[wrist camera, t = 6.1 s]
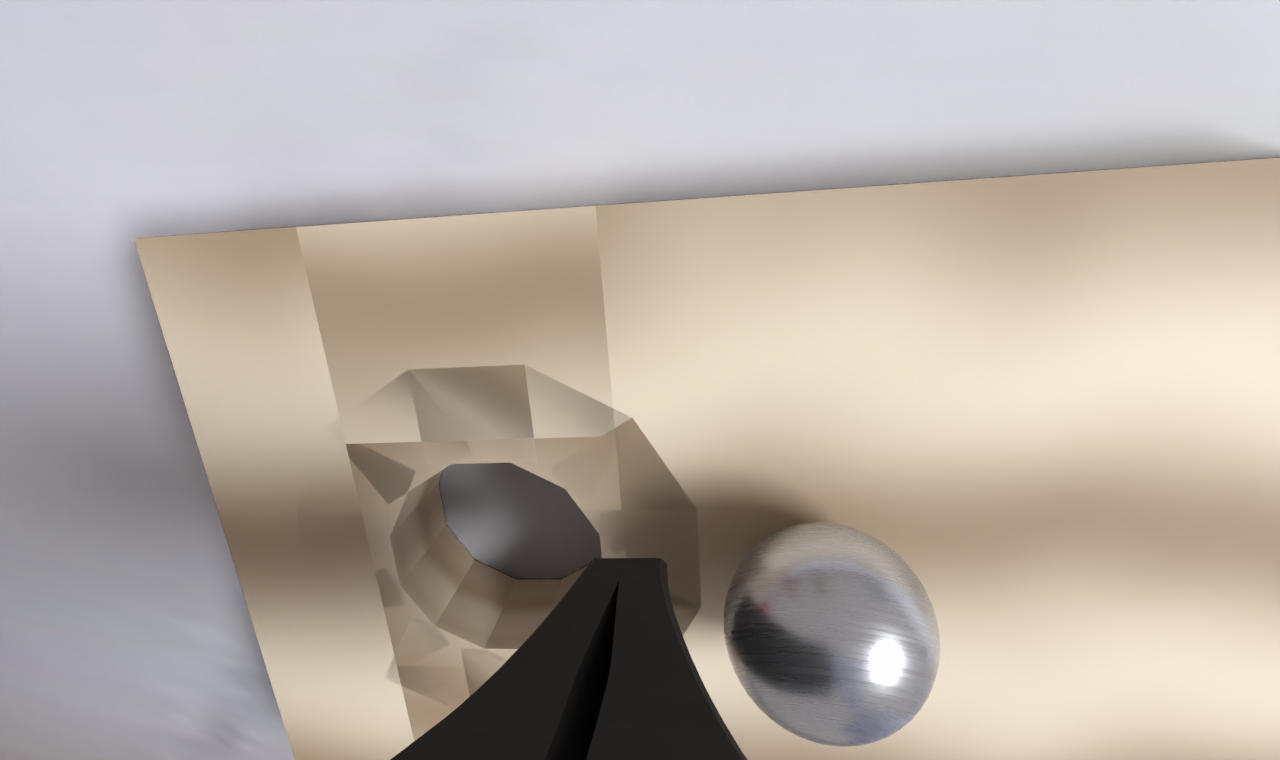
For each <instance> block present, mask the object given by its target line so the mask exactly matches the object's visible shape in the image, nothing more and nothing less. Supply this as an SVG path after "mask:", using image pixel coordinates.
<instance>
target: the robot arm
mask: <svg viewBox="0 0 1280 760" xmlns="http://www.w3.org/2000/svg"><path fill="white" fill-rule="evenodd" d="M390 760H747V758H746V757H745V755H744V754H743V752H742V751H741V749H740V748H739V746H738V744H737V743H736V741H735V739H734V738H733V736H732V734H731V733H730V731H729V729H728V728H727V726H726V724H725V723H724V721H723V719H722V717H721V716H720V714H719V712H718V710H717V708H716V707H715V705H714V703H713V701H712V699H711V697H710V696H709V694H708V692H707V690H706V688H705V686H704V684H703V682H702V680H701V677H700V675H699V673H698V671H697V669H696V667H695V664H694V662H693V660H692V658H691V655H690V653H689V651H688V648H687V646H686V643H685V641H684V638H683V635H682V632H681V630H680V627H679V624H678V621H677V618H676V616H675V612H674V609H673V606H672V602H671V598H670V594H669V588H668V572H667V563H666V562H665V561H663V560H662V559H661V558H594V559H593V560H592V561H591V562H590V563H589V564H588V566H587V567H586V568H585V570H584V571H583V572H582V574H581V575H580V576H579V578H578V579H577V580H576V581H575V583H574V584H573V585H572V587H571V588H570V589H569V590H568V592H567V593H566V594H565V595H564V597H563V598H562V599H561V600H560V602H559V603H558V604H557V605H556V607H555V608H554V609H553V610H552V611H551V612H550V614H549V615H548V616H547V617H546V618H545V619H544V621H543V622H542V623H541V624H540V625H539V627H538V628H537V629H536V630H535V631H534V632H533V633H532V635H531V636H530V637H529V638H528V639H527V640H526V641H525V642H524V643H523V644H522V645H521V646H520V647H519V648H518V650H517V651H516V652H515V653H514V654H513V655H512V656H511V657H510V658H509V659H508V660H507V661H506V662H505V663H504V664H503V665H502V666H501V667H500V668H499V669H498V670H497V671H496V672H495V673H494V674H493V675H492V676H491V677H490V678H489V679H488V680H487V681H486V682H485V683H484V684H483V685H482V686H481V687H480V688H479V689H478V690H476V691H475V692H474V693H473V694H472V695H471V696H470V697H469V698H468V699H466V700H465V701H464V702H463V703H462V704H461V705H460V706H459V707H457V708H456V709H455V710H454V711H453V712H451V713H450V714H449V715H448V716H447V717H445V718H444V719H443V720H442V721H440V722H439V723H438V724H436V725H435V726H434V727H432V728H431V729H430V730H428V731H427V732H426V733H425V734H423V735H422V736H421V737H419V738H418V739H417V740H415V741H414V742H413V743H411V744H410V745H409V746H408V747H406V748H405V749H404V750H402V751H401V752H400V753H398V754H397V755H396V756H394V757H393V758H392V759H390Z"/></svg>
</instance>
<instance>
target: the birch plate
mask: <svg viewBox="0 0 1280 760" xmlns="http://www.w3.org/2000/svg"><path fill="white" fill-rule="evenodd" d="M134 242H135V245H136V248H137V251H138V254H139V258H140V261H141V264H142V267H143V271H144V274H145V277H146V280H147V284H148V287H149V290H150V293H151V297H152V300H153V303H154V306H155V309H156V313H157V316H158V319H159V322H160V326H161V329H162V332H163V335H164V339H165V342H166V345H167V348H168V351H169V355H170V358H171V361H172V364H173V368H174V371H175V374H176V377H177V381H178V384H179V387H180V390H181V394H182V397H183V400H184V403H185V406H186V410H187V413H188V416H189V419H190V423H191V426H192V429H193V432H194V436H195V439H196V442H197V445H198V448H199V452H200V455H201V458H202V461H203V465H204V468H205V471H206V474H207V478H208V481H209V484H210V487H211V491H212V494H213V497H214V500H215V503H216V507H217V510H218V513H219V516H220V520H221V523H222V526H223V529H224V533H225V536H226V539H227V542H228V545H229V549H230V552H231V555H232V558H233V562H234V565H235V568H236V571H237V575H238V578H239V581H240V584H241V587H242V591H243V594H244V597H245V600H246V604H247V607H248V610H249V613H250V617H251V620H252V623H253V626H254V630H255V633H256V636H257V639H258V642H259V646H260V649H261V652H262V655H263V659H264V662H265V665H266V668H267V672H268V675H269V678H270V681H271V684H272V688H273V691H274V694H275V697H276V701H277V704H278V707H279V710H280V714H281V717H282V720H283V723H284V727H285V730H286V733H287V736H288V739H289V743H290V746H291V749H292V752H293V756H294V759H295V760H390V759H392V758H393V757H394V756H396V755H397V754H398V753H400V752H401V751H402V750H404V749H405V748H406V747H408V746H409V745H410V744H411V743H413V742H414V741H415V740H417V739H418V738H419V737H421V736H422V735H423V734H425V733H426V732H427V731H428V730H430V729H431V728H432V727H434V726H435V725H436V724H438V723H439V722H440V721H442V720H443V719H444V718H445V717H447V716H448V715H449V714H450V713H451V712H453V711H454V710H455V709H456V708H457V707H459V706H460V705H461V704H462V703H463V702H464V701H465V700H466V699H468V698H469V697H470V696H471V695H472V694H473V693H474V692H475V691H476V690H478V689H479V688H480V687H481V686H482V685H483V684H484V683H485V682H486V681H487V680H488V679H489V678H490V677H491V676H492V675H493V674H494V673H495V672H496V671H497V670H498V669H499V668H500V667H501V666H502V665H503V664H504V663H505V662H506V661H507V660H508V659H509V658H510V657H511V656H512V655H513V654H514V653H515V652H516V651H517V650H518V648H519V647H520V646H521V645H522V644H523V643H524V642H525V641H526V640H527V639H528V638H529V637H530V636H531V635H532V633H533V632H534V631H535V630H536V629H537V628H538V627H539V625H540V624H541V623H542V622H543V621H544V619H545V618H546V617H547V616H548V615H549V614H550V612H551V611H552V610H553V609H554V608H555V607H556V605H557V604H558V603H559V602H560V600H561V599H562V598H563V597H564V595H565V594H566V593H567V592H568V590H569V589H570V588H571V587H572V585H573V584H574V583H575V581H576V580H577V579H578V578H579V576H580V575H581V574H582V572H583V571H584V570H585V568H586V567H587V566H588V565H587V566H585V567H583V568H581V569H580V570H578V571H576V572H574V573H572V574H570V575H569V576H567V577H565V578H563V579H515V578H513V577H510V576H508V575H506V574H504V573H502V572H500V571H498V570H495V569H493V568H491V567H489V566H487V565H485V564H483V563H481V562H478V561H476V560H475V559H474V558H473V557H472V556H471V554H470V553H469V552H468V551H467V550H466V548H465V547H464V546H463V545H462V543H461V542H460V541H459V540H458V539H457V537H456V536H455V535H454V534H453V532H452V531H451V530H450V529H449V528H448V526H447V525H446V521H445V515H444V510H443V504H442V499H441V494H440V488H439V483H438V482H439V480H440V478H441V475H442V473H443V471H444V469H445V468H446V467H448V466H450V465H451V464H475V463H512V464H514V465H516V466H518V467H520V468H522V469H525V470H527V471H529V472H531V473H533V474H535V475H537V476H539V477H541V478H543V479H545V480H547V481H549V482H552V483H554V484H556V485H558V486H560V487H562V488H564V489H565V490H566V491H567V492H568V494H569V495H570V496H571V498H572V499H573V500H574V501H575V503H576V504H577V505H578V507H579V508H580V509H581V511H582V512H583V513H584V515H585V516H586V517H587V519H588V520H589V521H590V523H591V524H592V525H593V527H594V528H595V529H596V531H597V532H598V533H599V535H600V545H601V556H600V558H661V559H662V560H663V561H665V562H666V563H667V572H668V588H669V594H670V598H671V602H672V606H673V609H674V612H675V616H676V618H677V621H678V624H679V627H680V630H681V632H682V635H683V638H684V641H685V643H686V646H687V648H688V651H689V653H690V655H691V658H692V660H693V662H694V664H695V667H696V669H697V671H698V673H699V675H700V677H701V680H702V682H703V684H704V686H705V688H706V690H707V692H708V694H709V696H710V697H711V699H712V701H713V703H714V705H715V707H716V708H717V710H718V712H719V714H720V716H721V717H722V719H723V721H724V723H725V724H726V726H727V728H728V729H729V731H730V733H731V734H732V736H733V738H734V739H735V741H736V743H737V744H738V746H739V748H740V749H741V751H742V752H743V754H744V755H745V757H746V758H747V760H1280V157H1276V158H1262V159H1247V160H1233V161H1219V162H1205V163H1191V164H1177V165H1162V166H1148V167H1134V168H1120V169H1106V170H1091V171H1077V172H1063V173H1049V174H1035V175H1021V176H1006V177H992V178H978V179H964V180H950V181H936V182H921V183H907V184H893V185H879V186H865V187H850V188H836V189H822V190H808V191H794V192H780V193H765V194H751V195H737V196H723V197H709V198H694V199H680V200H666V201H652V202H638V203H624V204H609V205H595V206H581V207H567V208H553V209H539V210H524V211H510V212H496V213H482V214H468V215H453V216H439V217H425V218H411V219H397V220H383V221H368V222H354V223H340V224H326V225H312V226H297V227H283V228H269V229H255V230H241V231H227V232H214V233H201V234H188V235H174V236H161V237H148V238H135V239H134ZM812 522H824V523H835V524H841V525H845V526H849V527H852V528H855V529H857V530H860V531H863V532H865V533H867V534H869V535H871V536H873V537H875V538H876V539H878V540H880V541H882V542H883V543H884V544H886V545H887V546H888V547H890V548H891V549H892V550H894V551H895V552H896V553H897V554H898V555H899V556H900V557H901V558H902V559H903V560H904V561H905V562H906V563H907V564H908V565H909V566H910V568H911V569H912V570H913V571H914V573H915V574H916V575H917V577H918V578H919V580H920V581H921V583H922V585H923V586H924V588H925V590H926V592H927V594H928V596H929V599H930V601H931V603H932V606H933V609H934V612H935V615H936V618H937V622H938V628H939V634H940V660H939V668H938V672H937V675H936V679H935V683H934V685H933V688H932V690H931V692H930V695H929V697H928V699H927V700H926V702H925V703H924V705H923V707H922V708H921V710H920V711H919V712H918V713H917V714H916V715H915V717H914V718H913V719H912V720H911V721H910V722H909V723H907V724H906V725H905V726H904V727H903V728H901V729H900V730H899V731H897V732H895V733H894V734H892V735H890V736H888V737H887V738H884V739H881V740H879V741H876V742H874V743H870V744H865V745H860V746H849V747H839V746H829V745H824V744H819V743H815V742H812V741H809V740H806V739H804V738H801V737H798V736H796V735H795V734H793V733H791V732H789V731H787V730H785V729H784V728H782V727H781V726H779V725H778V724H777V723H775V722H774V721H773V720H771V719H770V718H769V717H768V716H767V715H766V714H765V713H764V712H762V711H761V710H760V709H759V708H758V706H757V705H756V704H755V703H754V702H753V700H752V699H751V698H750V697H749V695H748V694H747V692H746V691H745V689H744V688H743V686H742V685H741V683H740V681H739V679H738V677H737V675H736V673H735V672H734V669H733V667H732V664H731V661H730V659H729V656H728V652H727V647H726V643H725V636H724V608H725V600H726V596H727V592H728V588H729V585H730V583H731V580H732V578H733V576H734V573H735V572H736V570H737V568H738V567H739V565H740V563H741V562H742V561H743V559H744V558H745V557H746V556H747V554H748V553H749V552H750V551H751V550H752V549H753V548H754V547H755V546H756V545H757V544H758V543H760V542H761V541H762V540H764V539H765V538H767V537H768V536H770V535H771V534H773V533H775V532H778V531H780V530H782V529H784V528H787V527H791V526H794V525H798V524H803V523H812Z"/></svg>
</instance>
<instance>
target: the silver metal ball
mask: <svg viewBox="0 0 1280 760" xmlns="http://www.w3.org/2000/svg"><path fill="white" fill-rule="evenodd" d="M724 636H725V643H726V647H727V652H728V656H729V659H730V661H731V664H732V667H733V669H734V672H735V673H736V675H737V677H738V679H739V681H740V683H741V685H742V686H743V688H744V689H745V691H746V692H747V694H748V695H749V697H750V698H751V699H752V700H753V702H754V703H755V704H756V705H757V706H758V708H759V709H760V710H761V711H762V712H764V713H765V714H766V715H767V716H768V717H769V718H770V719H771V720H773V721H774V722H775V723H777V724H778V725H779V726H781V727H782V728H784V729H785V730H787V731H789V732H791V733H793V734H795V735H796V736H798V737H801V738H804V739H806V740H809V741H812V742H815V743H819V744H824V745H829V746H839V747H849V746H860V745H865V744H870V743H874V742H876V741H879V740H881V739H884V738H887V737H888V736H890V735H892V734H894V733H895V732H897V731H899V730H900V729H901V728H903V727H904V726H905V725H906V724H907V723H909V722H910V721H911V720H912V719H913V718H914V717H915V715H916V714H917V713H918V712H919V711H920V710H921V708H922V707H923V705H924V703H925V702H926V700H927V699H928V697H929V695H930V692H931V690H932V688H933V685H934V683H935V679H936V675H937V672H938V668H939V660H940V634H939V628H938V622H937V618H936V615H935V612H934V609H933V606H932V603H931V601H930V599H929V596H928V594H927V592H926V590H925V588H924V586H923V585H922V583H921V581H920V580H919V578H918V577H917V575H916V574H915V573H914V571H913V570H912V569H911V568H910V566H909V565H908V564H907V563H906V562H905V561H904V560H903V559H902V558H901V557H900V556H899V555H898V554H897V553H896V552H895V551H894V550H892V549H891V548H890V547H888V546H887V545H886V544H884V543H883V542H882V541H880V540H878V539H876V538H875V537H873V536H871V535H869V534H867V533H865V532H863V531H860V530H857V529H855V528H852V527H849V526H845V525H841V524H835V523H824V522H812V523H803V524H798V525H794V526H791V527H787V528H784V529H782V530H780V531H778V532H775V533H773V534H771V535H770V536H768V537H767V538H765V539H764V540H762V541H761V542H760V543H758V544H757V545H756V546H755V547H754V548H753V549H752V550H751V551H750V552H749V553H748V554H747V556H746V557H745V558H744V559H743V561H742V562H741V563H740V565H739V567H738V568H737V570H736V572H735V573H734V576H733V578H732V580H731V583H730V585H729V588H728V592H727V596H726V600H725V608H724Z"/></svg>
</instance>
